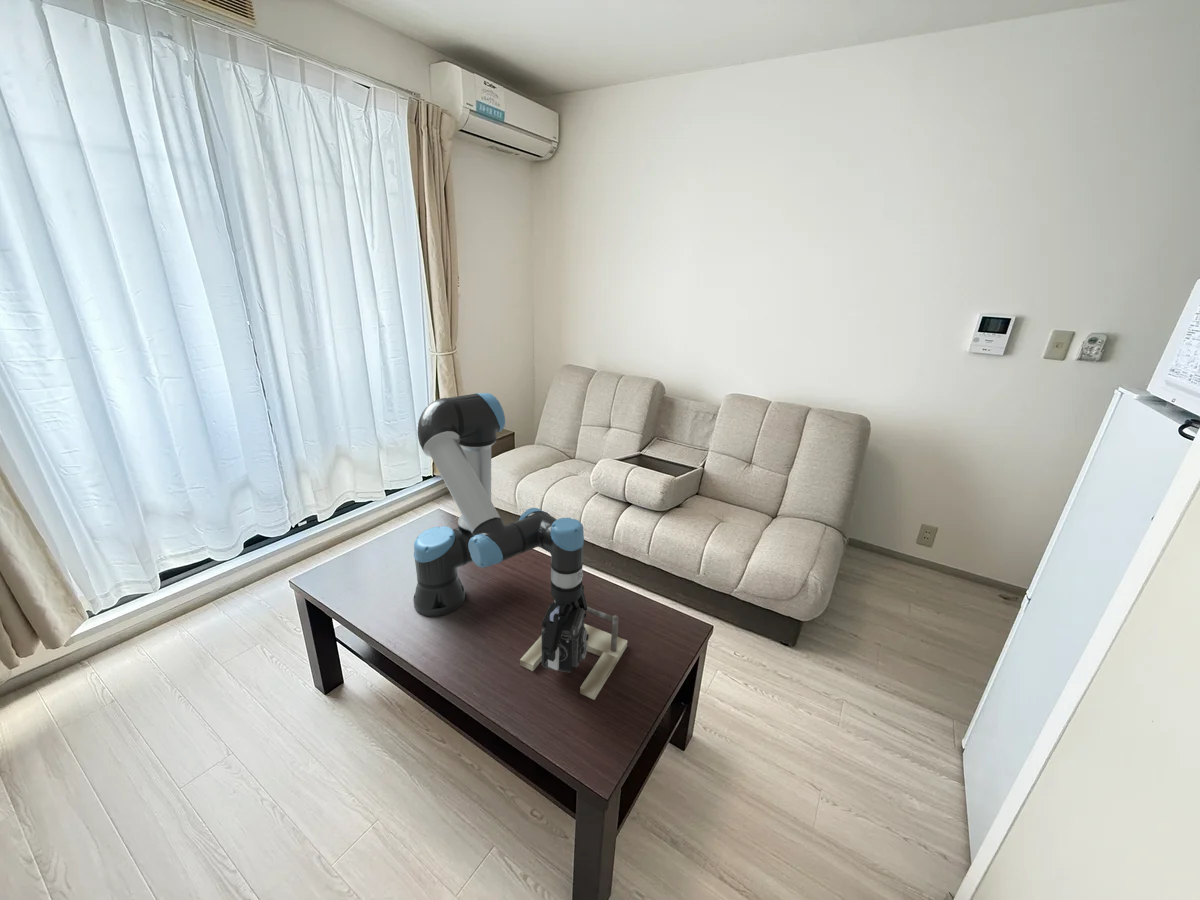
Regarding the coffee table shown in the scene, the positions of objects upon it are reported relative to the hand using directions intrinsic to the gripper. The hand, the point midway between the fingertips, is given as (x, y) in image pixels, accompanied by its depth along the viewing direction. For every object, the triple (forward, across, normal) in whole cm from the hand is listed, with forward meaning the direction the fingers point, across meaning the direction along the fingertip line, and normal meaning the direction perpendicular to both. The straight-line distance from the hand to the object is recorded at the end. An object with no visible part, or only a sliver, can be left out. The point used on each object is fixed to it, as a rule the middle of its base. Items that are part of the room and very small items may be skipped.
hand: (565, 651), depth 118 cm
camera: (+3, 0, 0) cm, 3 cm away
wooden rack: (+6, +6, 0) cm, 8 cm away
